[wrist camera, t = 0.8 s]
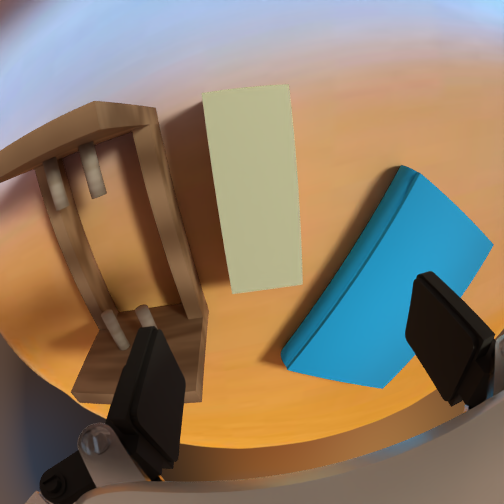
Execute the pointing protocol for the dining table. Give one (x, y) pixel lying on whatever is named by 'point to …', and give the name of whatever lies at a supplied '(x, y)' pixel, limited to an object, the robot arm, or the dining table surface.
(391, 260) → the book
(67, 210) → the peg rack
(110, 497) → the robot arm
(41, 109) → the dining table surface
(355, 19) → the dining table surface
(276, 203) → the pale green block
